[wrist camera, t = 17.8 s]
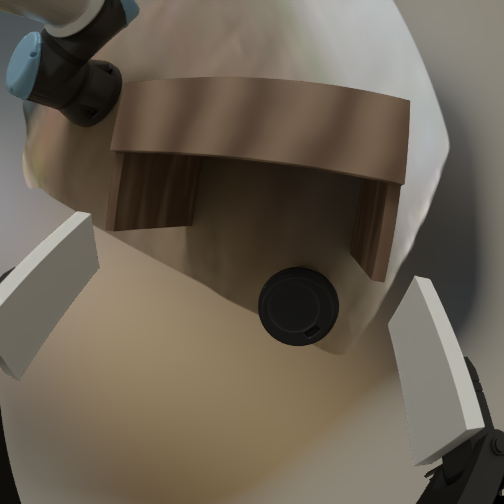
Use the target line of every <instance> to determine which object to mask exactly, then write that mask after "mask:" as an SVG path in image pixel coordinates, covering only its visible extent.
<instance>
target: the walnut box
mask: <svg viewBox="0 0 504 504" xmlns="http://www.w3.org/2000/svg"><path fill="white" fill-rule="evenodd" d="M409 119H410V101H409V100H405V99H401V98H397V97H393V96H389V95H384V94H379V93H375V92H370V91H365V90H359V89H354V88H348V87H341V86H335V85H328V84H321V83H312V82H304V81H294V80H282V79H267V78H245V77H199V78H176V79H162V80H150V81H141V82H132V83H125V85H124V89H123V93H122V96H121V100H120V104H119V108H118V113H117V117H116V121H115V126H114V131H113V136H112V140H111V146H110V150H111V151H114V152H116V156H115V162H114V168H113V174H112V181H111V188H110V195H109V203H108V212H107V221H106V230H110V231H123V230H136V229H150V228H164V227H179V226H192V220H193V213H194V206H195V199H196V192H197V186H198V179H199V173H200V167H201V161H202V156H209V157H221V158H231V159H241V160H250V161H259V162H267V163H275V164H283V165H290V166H297V167H304V168H310V169H316V170H323V171H329V172H334V173H340V174H346V175H351V176H356V177H362V183H361V190H360V197H359V204H358V210H357V217H356V223H355V229H354V235H353V241H352V246H351V252H350V254H351V255H352V257H353V258H354V259H355V260H356V261H357V263H358V264H359V265H360V266H361V268H362V269H363V270H364V271H365V272H366V274H367V275H368V276H369V277H370V279H371V280H374V281H380V282H384V281H385V277H386V272H387V267H388V263H389V258H390V252H391V247H392V242H393V236H394V230H395V224H396V218H397V211H398V204H399V197H400V189H401V185H404V183H405V174H406V164H407V152H408V138H409Z"/></svg>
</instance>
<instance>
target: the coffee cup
mask: <svg viewBox="0 0 504 504" xmlns="http://www.w3.org/2000/svg"><path fill="white" fill-rule="evenodd" d="M258 312H259V317H260V320H261V322H262V325H263V326H264V328H265V329H266V331H267V332H268V333H269V334H270V335H271V336H272V337H273V338H275V339H276V340H278V341H280V342H282V343H284V344H287V345H292V346H305V345H310V344H313V343H315V342H317V341H319V340H321V339H322V338H324V337H325V336H326V335H327V334H328V333H329V332H330V330H331V329H332V328H333V326H334V324H335V322H336V320H337V317H338V312H339V300H338V296H337V293H336V290H335V288H334V287H333V285H332V284H331V282H330V281H329V280H328V279H327V278H326V277H325V276H323V275H322V274H321V273H319V272H317V271H316V270H315V269H313V268H311V267H307V266H303V267H293V268H288V269H285V270H282V271H280V272H278V273H276V274H275V275H273V276H272V277H271V278H270V279H269V280H268V281H267V282H266V284H265V285H264V287H263V288H262V291H261V293H260V296H259V302H258Z"/></svg>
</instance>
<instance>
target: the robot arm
mask: <svg viewBox="0 0 504 504" xmlns="http://www.w3.org/2000/svg"><path fill="white" fill-rule="evenodd" d="M0 10H1V11H5V12H9V13H13V14H16V15H20V16H24V17H27V18H30V19H33V20H37V21H40V22H43V23H44V26H45V29H44V30H43V31H42V32H41V33H39V32H31V33H29V34H28V35H26V36H25V37H24V38H23V39H22V40H21V42H20V43H19V44H18V46H17V48H16V49H15V51H14V53H13V55H12V58H11V60H10V62H9V65H8V69H7V73H6V87H7V90H8V92H9V93H10V94H12V95H14V96H16V97H19V98H21V99H22V100H28V101H31V102H35V103H38V104H41V105H45V106H48V107H51V108H54V109H57V110H59V111H60V112H61V113H62V114H63V115H64V116H65V117H66V118H67V119H68V120H69V121H71V122H72V123H74V124H76V125H79V126H83V127H88V126H92V125H94V124H96V123H98V122H99V121H101V120H102V119H103V118H104V117H105V116H106V115H107V114H108V113H109V112H110V110H111V109H112V108H113V106H114V104H115V103H116V101H117V98H118V96H119V93H120V90H121V84H122V78H121V73H120V71H119V69H118V68H117V67H116V66H114V65H113V64H111V63H109V62H107V61H102V60H92V59H91V58H92V57H93V56H94V55H95V54H96V53H97V52H98V51H99V50H100V49H101V48H102V47H103V46H104V45H105V44H106V43H107V42H108V41H109V40H111V39H112V38H113V37H114V36H115V35H116V34H118V33H119V32H120V31H121V30H122V29H124V28H126V27H127V26H128V24H129V23H130V22H131V21H132V20H133V19H135V18H136V17H137V16H138V14H139V6H138V4H137V3H136V1H135V0H0ZM98 269H99V262H98V256H97V251H96V244H95V238H94V231H93V224H92V216H91V214H90V213H84V212H79V211H77V212H76V213H74V214H73V215H72V216H71V217H70V218H68V219H67V220H66V221H65V222H64V223H63V224H62V225H60V226H59V227H58V228H57V229H56V230H55V231H54V232H52V233H51V234H50V235H49V236H48V237H47V238H46V239H45V240H44V241H43V242H42V243H40V245H38V246H37V247H36V248H35V249H34V250H33V251H32V252H31V253H30V254H29V255H28V256H27V257H26V258H25V259H24V260H23V261H22V262H21V263H20V264H19V265H18V266H17V267H14V268H12V269H11V270H9V271H8V272H6V273H4V274H3V275H2V276H1V277H0V366H1V368H2V369H3V371H4V372H5V373H6V374H8V375H9V376H11V377H12V378H14V379H16V380H17V381H20V379H21V377H22V376H23V374H24V373H25V371H26V369H27V368H28V366H29V365H30V363H31V361H32V360H33V358H34V357H35V355H36V354H37V352H38V351H39V349H40V347H41V346H42V345H43V343H44V342H45V340H46V339H47V337H48V336H49V334H50V333H51V331H52V330H53V329H54V327H55V326H56V324H57V323H58V321H59V320H60V319H61V317H62V315H63V314H64V313H65V312H66V310H67V309H68V308H69V306H70V305H71V304H72V302H73V301H74V299H75V298H76V297H77V295H78V294H79V293H80V292H81V290H82V289H83V288H84V286H85V285H86V284H87V283H88V281H89V280H90V279H91V278H92V276H93V275H94V274H95V272H96V271H97V270H98ZM388 327H389V331H390V335H391V339H392V343H393V348H394V353H395V357H396V361H397V366H398V371H399V376H400V381H401V387H402V391H403V397H404V403H405V409H406V415H407V422H408V428H409V436H410V443H411V451H412V460H413V466H419V465H427V464H432V463H433V462H435V461H437V460H438V459H440V458H441V457H442V461H443V464H441V465H440V466H438V467H436V468H434V469H433V470H431V471H429V472H428V473H427V474H426V475H425V476H424V477H426V478H427V477H429V476H430V475H432V474H434V475H433V477H432V478H431V479H429V480H430V482H429V484H428V485H427V487H426V489H425V491H424V492H423V494H422V495H421V497H420V498H419V500H418V501H417V503H416V504H504V496H502V490H503V489H504V432H503V431H501V430H498V429H494V426H493V423H492V420H491V416H490V413H489V409H488V406H487V402H486V399H485V396H484V393H483V392H482V390H483V389H482V386H481V384H480V383H479V378H478V375H477V372H476V369H475V367H474V366H473V364H472V363H471V361H470V360H469V359H468V357H463V355H462V352H461V350H460V347H459V344H458V342H457V339H456V337H455V335H454V332H453V329H452V327H451V325H450V322H449V320H448V318H447V315H446V313H445V311H444V308H443V306H442V304H441V302H440V300H439V297H438V295H437V293H436V291H435V289H434V287H433V285H432V283H431V280H430V279H426V278H422V277H417V276H415V277H414V279H413V281H412V282H411V284H410V286H409V288H408V290H407V292H406V294H405V296H404V297H403V299H402V301H401V303H400V305H399V306H398V308H397V310H396V312H395V313H394V315H393V317H392V318H391V320H390V322H389V324H388ZM0 504H21V501H20V498H19V495H18V492H17V488H16V485H15V481H14V478H13V474H12V470H11V466H10V461H9V457H8V452H7V447H6V442H5V436H4V430H3V423H2V416H1V408H0Z"/></svg>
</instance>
